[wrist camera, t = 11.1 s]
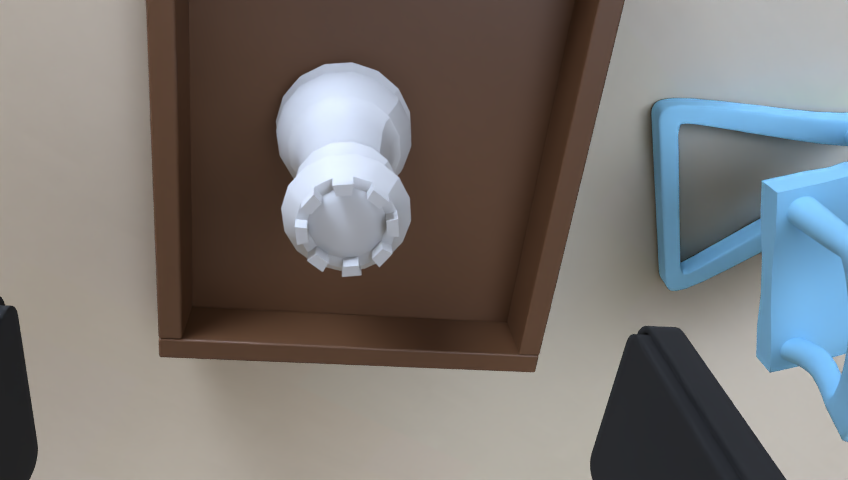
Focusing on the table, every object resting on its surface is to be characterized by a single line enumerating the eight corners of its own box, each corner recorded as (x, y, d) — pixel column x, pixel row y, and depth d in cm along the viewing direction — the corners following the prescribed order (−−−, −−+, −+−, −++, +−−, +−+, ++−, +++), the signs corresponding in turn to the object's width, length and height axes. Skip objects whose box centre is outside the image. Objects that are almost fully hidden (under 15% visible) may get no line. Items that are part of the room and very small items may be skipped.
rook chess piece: (355, 29, 24) (363, 105, 17) (436, 135, 26) (474, 244, 18) (248, 112, 24) (212, 219, 17) (334, 209, 26) (333, 340, 19)
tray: (161, -223, 21) (136, -234, 18) (624, -152, 23) (662, -152, 20) (175, 310, 29) (158, 358, 26) (518, 328, 31) (535, 373, 28)
